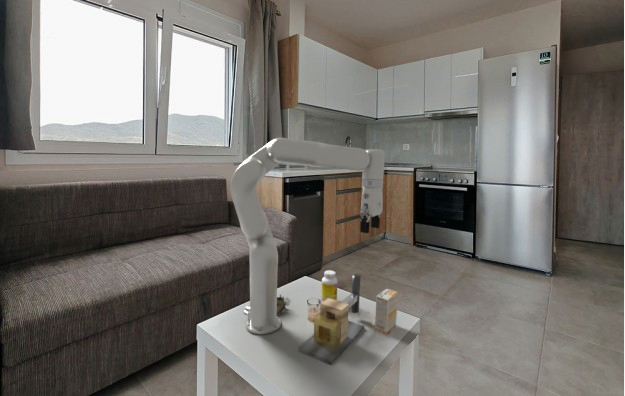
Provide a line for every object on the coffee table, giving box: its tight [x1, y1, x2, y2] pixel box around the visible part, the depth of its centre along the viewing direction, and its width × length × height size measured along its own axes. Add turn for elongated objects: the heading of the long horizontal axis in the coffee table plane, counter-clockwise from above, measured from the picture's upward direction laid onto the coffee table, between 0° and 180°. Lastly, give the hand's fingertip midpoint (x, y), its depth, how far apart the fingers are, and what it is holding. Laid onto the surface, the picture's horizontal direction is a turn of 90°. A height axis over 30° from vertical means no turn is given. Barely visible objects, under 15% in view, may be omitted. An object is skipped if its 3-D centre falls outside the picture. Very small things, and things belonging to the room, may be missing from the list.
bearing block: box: [298, 298, 365, 365], centre depth 108 cm, size 12×24×13 cm, turn 148°
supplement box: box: [374, 288, 399, 335], centre depth 116 cm, size 8×5×13 cm, turn 141°
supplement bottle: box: [320, 269, 339, 303], centre depth 135 cm, size 7×7×13 cm
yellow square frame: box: [313, 314, 340, 349], centre depth 104 cm, size 8×3×8 cm, turn 58°
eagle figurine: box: [277, 294, 291, 317], centre depth 126 cm, size 8×7×9 cm
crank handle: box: [330, 274, 362, 318], centre depth 115 cm, size 3×18×14 cm, turn 148°
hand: (370, 230), depth 119 cm, fingers open, 9 cm apart
